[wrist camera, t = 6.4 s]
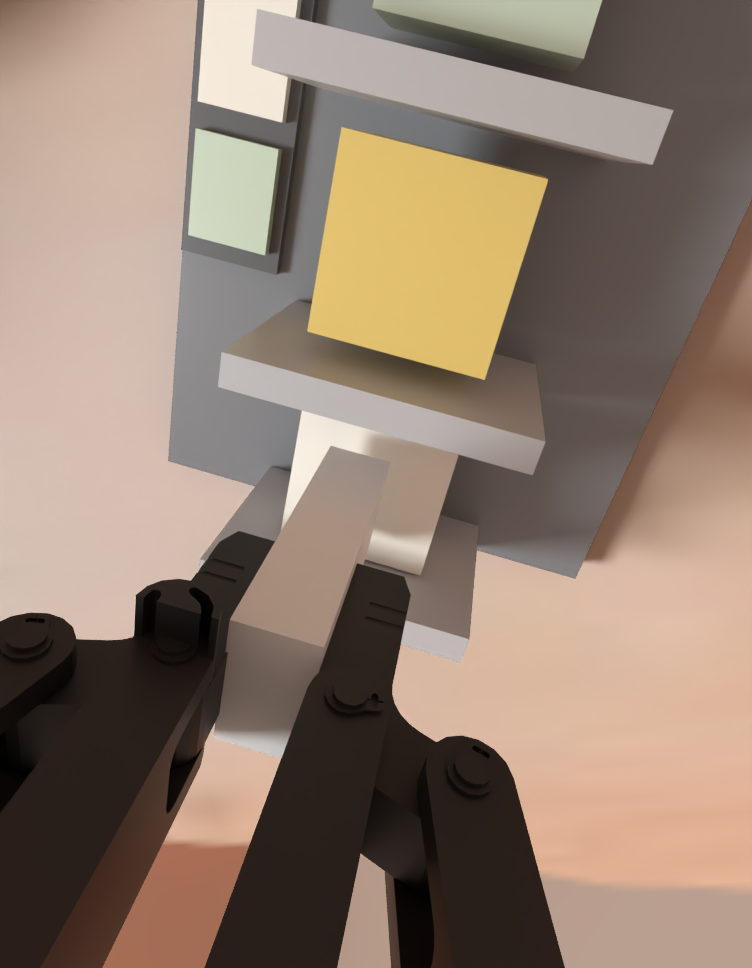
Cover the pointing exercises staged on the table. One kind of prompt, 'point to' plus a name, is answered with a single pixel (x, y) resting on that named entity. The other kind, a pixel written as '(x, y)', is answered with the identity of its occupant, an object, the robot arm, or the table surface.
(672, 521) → the table surface
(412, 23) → the key sage
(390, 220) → the key mustard
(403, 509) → the key cream
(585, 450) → the grey slotted rack
